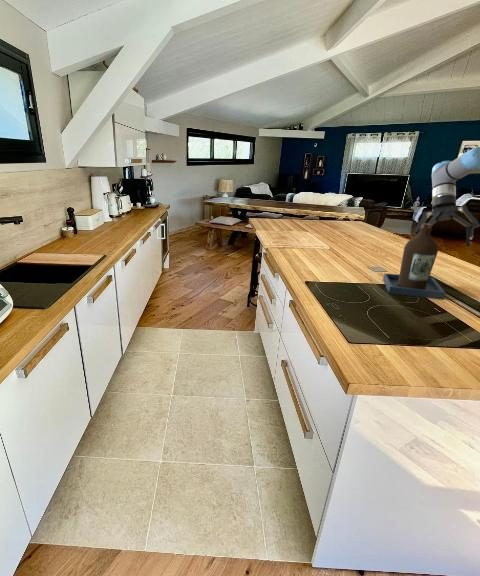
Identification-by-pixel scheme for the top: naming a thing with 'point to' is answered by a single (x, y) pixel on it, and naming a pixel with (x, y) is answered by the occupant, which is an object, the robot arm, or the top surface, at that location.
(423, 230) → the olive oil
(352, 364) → the top surface
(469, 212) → the robot arm
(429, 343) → the top surface
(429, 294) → the tray
